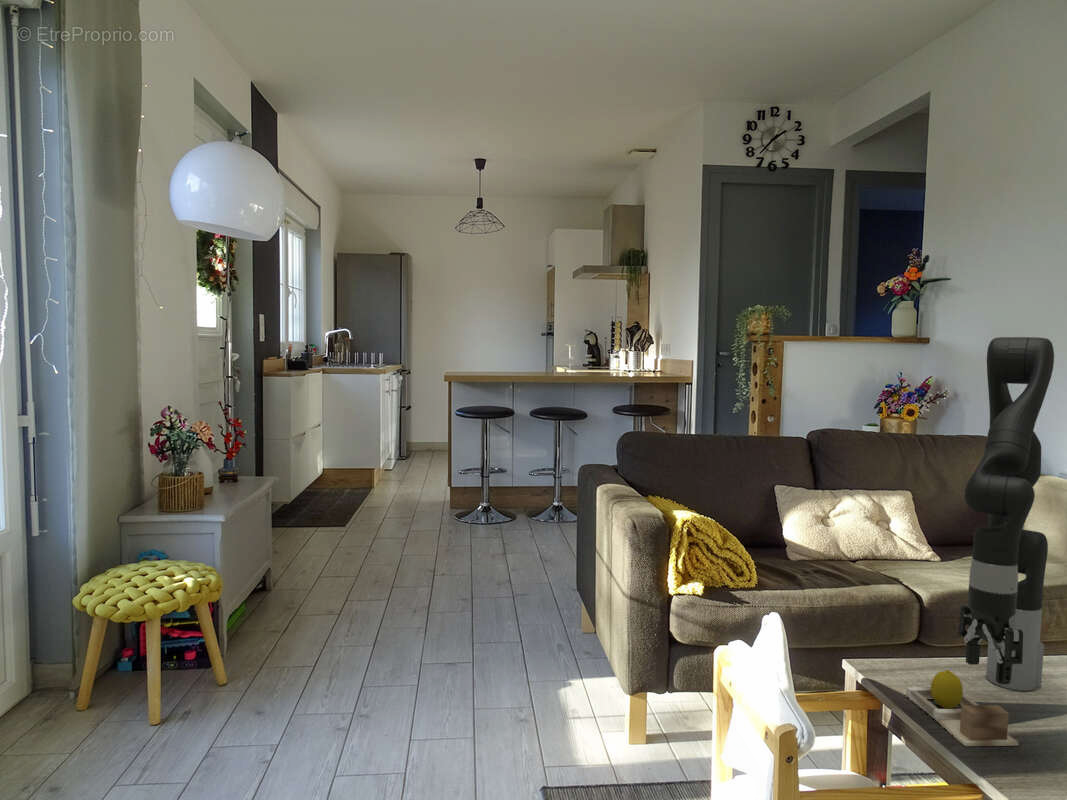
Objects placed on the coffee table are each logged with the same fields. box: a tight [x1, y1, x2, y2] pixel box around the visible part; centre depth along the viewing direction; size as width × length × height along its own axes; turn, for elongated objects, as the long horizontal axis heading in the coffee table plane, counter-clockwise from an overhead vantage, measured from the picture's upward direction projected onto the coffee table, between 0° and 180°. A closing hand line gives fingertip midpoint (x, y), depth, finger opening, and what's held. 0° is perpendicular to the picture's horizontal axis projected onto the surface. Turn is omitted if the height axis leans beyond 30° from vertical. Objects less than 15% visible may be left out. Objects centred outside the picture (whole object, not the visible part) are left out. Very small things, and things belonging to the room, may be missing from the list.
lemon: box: [930, 669, 964, 709], centre depth 152 cm, size 6×6×8 cm
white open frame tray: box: [905, 686, 1020, 747], centre depth 148 cm, size 10×20×6 cm, turn 4°
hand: (986, 673), depth 140 cm, fingers open, 8 cm apart
